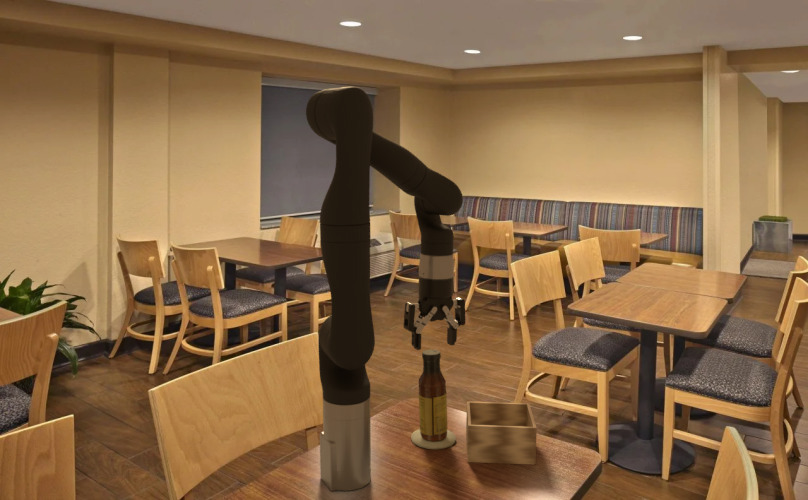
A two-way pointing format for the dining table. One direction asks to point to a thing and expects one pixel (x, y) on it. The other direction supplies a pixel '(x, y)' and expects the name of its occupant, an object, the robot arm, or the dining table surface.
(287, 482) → the dining table surface
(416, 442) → the saucer
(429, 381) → the sauce bottle
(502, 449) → the caddy
